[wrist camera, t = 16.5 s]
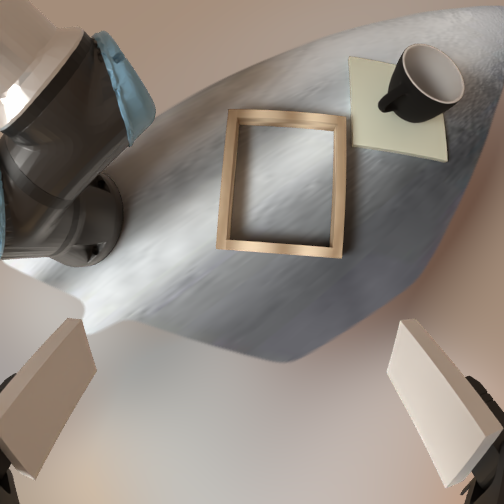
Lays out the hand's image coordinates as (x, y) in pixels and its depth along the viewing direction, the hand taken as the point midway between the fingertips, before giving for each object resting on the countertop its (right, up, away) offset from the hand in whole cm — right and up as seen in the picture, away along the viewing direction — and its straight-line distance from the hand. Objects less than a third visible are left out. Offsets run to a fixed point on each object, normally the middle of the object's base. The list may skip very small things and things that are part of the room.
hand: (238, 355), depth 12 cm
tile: (+22, +25, +27) cm, 43 cm away
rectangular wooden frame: (+5, +13, +28) cm, 32 cm away
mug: (+22, +25, +26) cm, 42 cm away
